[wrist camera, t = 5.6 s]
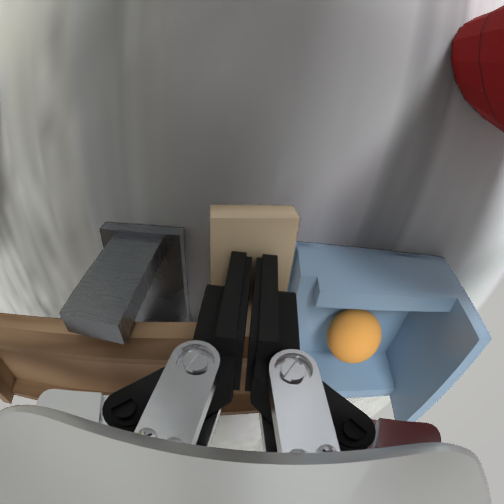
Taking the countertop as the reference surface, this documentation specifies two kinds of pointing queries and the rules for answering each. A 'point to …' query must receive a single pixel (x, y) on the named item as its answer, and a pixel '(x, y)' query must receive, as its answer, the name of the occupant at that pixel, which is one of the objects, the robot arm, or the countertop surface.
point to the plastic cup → (482, 65)
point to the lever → (142, 333)
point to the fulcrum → (130, 283)
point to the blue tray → (388, 322)
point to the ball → (354, 335)
